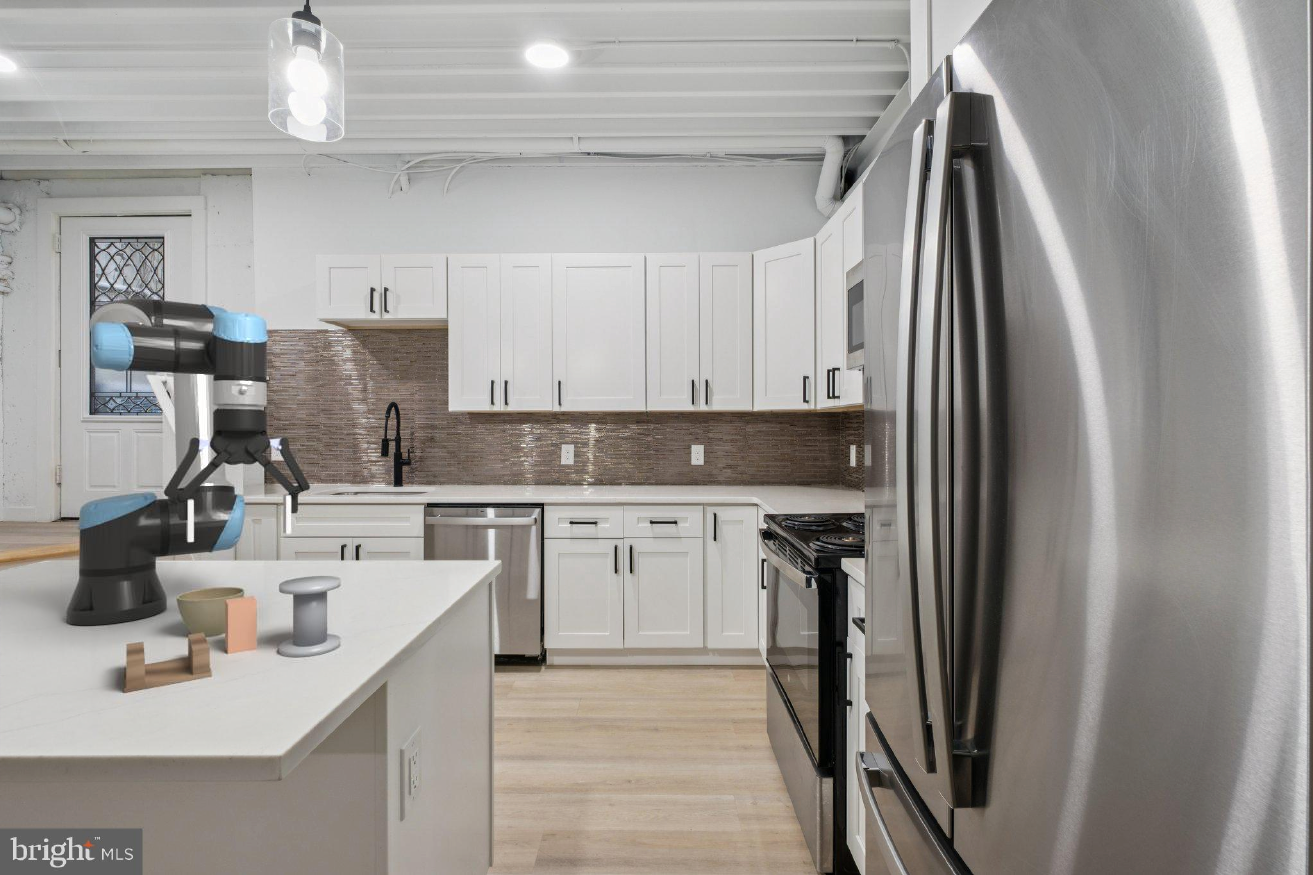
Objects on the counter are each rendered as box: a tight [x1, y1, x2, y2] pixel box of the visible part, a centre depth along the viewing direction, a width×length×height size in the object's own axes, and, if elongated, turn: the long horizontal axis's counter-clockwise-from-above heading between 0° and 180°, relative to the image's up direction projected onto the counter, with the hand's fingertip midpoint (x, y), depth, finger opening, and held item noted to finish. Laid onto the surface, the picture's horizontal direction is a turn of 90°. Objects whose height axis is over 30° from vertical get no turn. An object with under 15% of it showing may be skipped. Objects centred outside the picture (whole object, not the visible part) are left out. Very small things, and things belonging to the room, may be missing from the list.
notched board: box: [123, 632, 213, 694], centre depth 97 cm, size 10×10×4 cm
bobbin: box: [278, 575, 341, 658], centre depth 109 cm, size 9×9×11 cm
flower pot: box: [176, 586, 245, 638], centre depth 117 cm, size 10×10×7 cm
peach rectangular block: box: [224, 595, 258, 655], centre depth 109 cm, size 4×4×8 cm
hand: (240, 537), depth 109 cm, fingers open, 13 cm apart
